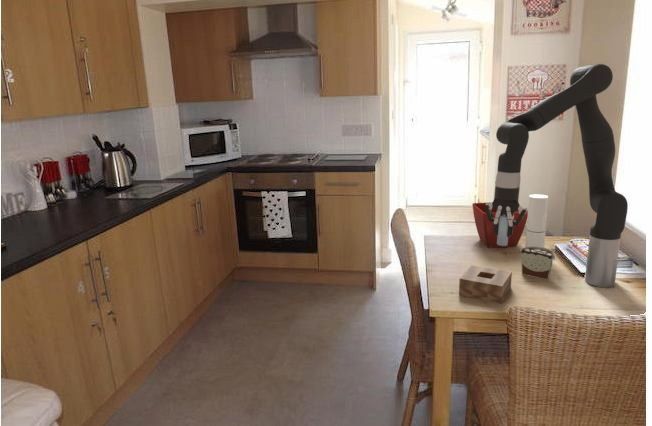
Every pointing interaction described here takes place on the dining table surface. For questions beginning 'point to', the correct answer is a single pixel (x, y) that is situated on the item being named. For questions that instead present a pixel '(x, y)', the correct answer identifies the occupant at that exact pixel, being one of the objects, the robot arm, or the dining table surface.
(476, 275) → the socket block
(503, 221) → the dowel
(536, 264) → the food container
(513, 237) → the plant pot
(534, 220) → the cylindrical container
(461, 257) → the dining table surface
